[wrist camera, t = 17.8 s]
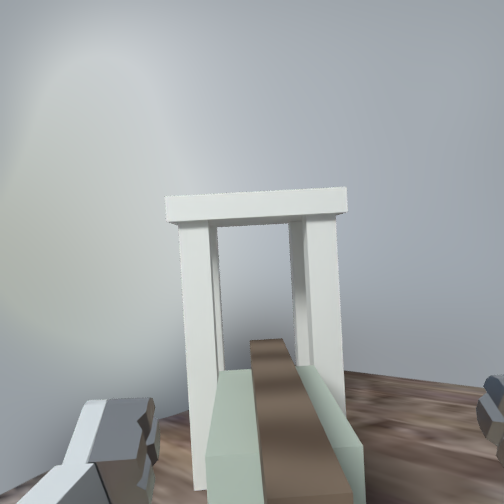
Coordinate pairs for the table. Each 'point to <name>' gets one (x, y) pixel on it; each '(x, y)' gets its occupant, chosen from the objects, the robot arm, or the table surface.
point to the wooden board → (291, 434)
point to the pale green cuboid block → (246, 439)
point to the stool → (303, 288)
